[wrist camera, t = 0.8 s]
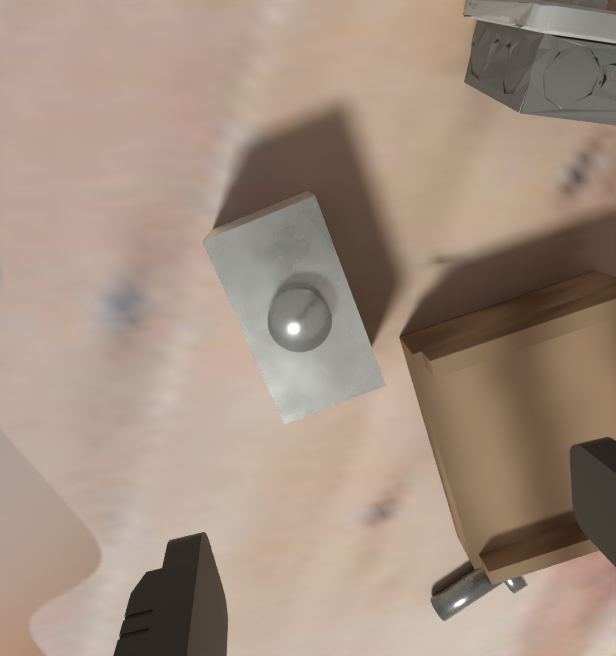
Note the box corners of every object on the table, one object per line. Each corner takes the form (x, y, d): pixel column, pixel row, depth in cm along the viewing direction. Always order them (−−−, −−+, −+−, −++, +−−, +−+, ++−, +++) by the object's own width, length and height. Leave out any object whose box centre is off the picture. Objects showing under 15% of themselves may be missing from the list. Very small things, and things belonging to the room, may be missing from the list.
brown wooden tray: (595, 270, 31) (648, 287, 27) (629, 480, 35) (679, 524, 31) (399, 337, 31) (420, 364, 27) (457, 537, 36) (484, 587, 31)
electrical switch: (636, 23, 27) (802, -16, 19) (604, 129, 29) (741, 138, 21) (460, -3, 26) (551, -57, 18) (439, 109, 28) (512, 109, 20)
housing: (307, 190, 29) (316, 196, 23) (367, 352, 32) (389, 391, 26) (213, 228, 29) (200, 243, 23) (282, 385, 32) (285, 431, 26)
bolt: (495, 540, 36) (512, 568, 34) (515, 564, 37) (533, 592, 34) (423, 589, 37) (435, 619, 34) (444, 611, 38) (457, 642, 35)
